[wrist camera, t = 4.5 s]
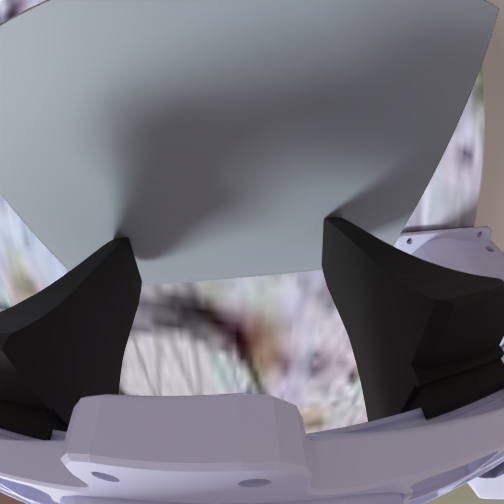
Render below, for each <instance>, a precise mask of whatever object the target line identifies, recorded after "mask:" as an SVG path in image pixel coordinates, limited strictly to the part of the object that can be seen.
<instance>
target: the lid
mask: <svg viewBox="0 0 504 504" xmlns="http://www.w3.org/2000/svg"><path fill="white" fill-rule="evenodd" d="M498 11H499V8H498V7H496V6H494V5H493V4H491V3H489V2H488V1H486V0H46V1H44V2H41V3H39V4H37V5H35V6H33V7H31V8H29V9H27V10H25V11H23V12H21V13H19V14H17V15H15V16H14V17H12V18H10V19H8V20H6V21H5V22H3V23H1V24H0V194H1V195H2V196H3V198H4V199H5V200H6V201H7V203H8V204H9V205H10V206H11V208H12V209H13V210H14V211H15V212H16V214H17V215H18V216H19V217H20V218H21V220H22V221H23V222H24V223H25V224H26V225H27V226H28V228H29V229H30V230H31V231H32V232H33V233H34V234H35V236H36V237H37V238H38V239H39V240H40V241H41V242H42V243H43V244H44V245H45V247H46V248H47V249H48V250H49V251H50V252H51V253H52V254H53V255H54V256H55V257H56V258H57V259H58V260H59V261H60V262H61V263H62V265H63V266H64V267H65V268H66V269H67V270H68V271H70V270H72V269H73V268H75V267H76V266H77V265H79V264H80V263H81V262H82V261H84V260H85V259H86V258H88V257H89V256H90V255H91V254H93V253H94V252H95V251H97V250H98V249H99V248H101V247H102V246H103V245H105V244H106V243H108V242H109V241H111V240H113V239H118V238H127V237H128V238H129V239H130V243H131V246H132V250H133V253H134V256H135V260H136V263H137V266H138V270H139V273H140V276H141V279H142V286H144V285H158V284H171V283H184V282H196V281H208V280H220V279H231V278H242V277H253V276H264V275H274V274H285V273H295V272H305V271H314V270H323V269H322V265H321V263H322V244H323V221H324V218H334V217H341V218H344V219H346V220H347V221H349V222H351V223H353V224H355V225H356V226H358V227H360V228H361V229H363V230H365V231H366V232H368V233H370V234H372V235H373V236H375V237H377V238H379V239H380V240H382V241H384V242H386V243H388V244H390V245H392V246H393V245H394V244H395V242H396V240H397V239H398V237H399V235H400V234H401V232H402V230H403V229H404V227H405V225H406V223H407V222H408V220H409V218H410V216H411V215H412V213H413V211H414V209H415V208H416V206H417V204H418V202H419V200H420V199H421V197H422V195H423V193H424V191H425V189H426V187H427V186H428V184H429V182H430V180H431V178H432V176H433V174H434V172H435V170H436V168H437V166H438V164H439V162H440V160H441V158H442V156H443V154H444V152H445V150H446V148H447V146H448V144H449V142H450V139H451V137H452V135H453V133H454V131H455V129H456V126H457V124H458V122H459V120H460V117H461V115H462V113H463V110H464V108H465V106H466V103H467V101H468V98H469V96H470V94H471V91H472V89H473V86H474V83H475V81H476V78H477V76H478V73H479V70H480V67H481V65H482V62H483V59H484V56H485V53H486V50H487V47H488V44H489V41H490V38H491V35H492V32H493V28H494V25H495V22H496V18H497V15H498Z"/></svg>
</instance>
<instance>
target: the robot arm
mask: <svg viewBox="0 0 504 504" xmlns="http://www.w3.org/2000/svg"><path fill="white" fill-rule="evenodd" d="M490 236H491V228H489V227H488V226H481V227H469V228H456V229H444V230H432V231H420V232H408V233H401V234H400V235H399V237H398V239H397V240H396V242H395V247H394V246H392V245H390V244H388V243H386V242H384V241H382V240H380V239H379V238H377V237H375V236H373V235H372V234H370V233H368V232H366V231H365V230H363V229H361V228H360V227H358V226H356V225H355V224H353V223H351V222H349V221H347V220H346V219H344V218H341V217H334V218H324V221H323V244H322V263H321V265H322V269H323V273H324V277H325V280H326V283H327V287H328V289H329V292H330V294H331V296H332V298H333V301H334V303H335V305H336V308H337V310H338V312H339V315H340V317H341V319H342V321H343V324H344V326H345V328H346V331H347V334H348V336H349V339H350V342H351V346H352V349H353V353H354V356H355V360H356V364H357V368H358V372H359V377H360V381H361V385H362V390H363V395H364V400H365V406H366V411H367V418H368V422H366V423H362V424H357V425H352V426H348V427H343V428H337V429H332V430H327V431H321V432H315V433H308V434H305V429H304V423H303V418H302V416H301V414H300V412H299V411H298V409H297V407H296V405H294V404H291V403H289V402H286V401H284V400H281V399H278V398H276V397H273V396H271V395H264V394H243V393H235V394H219V395H196V396H133V395H118V394H119V383H120V375H121V367H122V361H123V356H124V351H125V347H126V344H127V341H128V337H129V334H130V331H131V327H132V324H133V321H134V317H135V314H136V311H137V307H138V304H139V299H140V293H141V286H142V279H141V276H140V273H139V270H138V266H137V263H136V260H135V256H134V253H133V250H132V246H131V243H130V239H129V238H128V237H127V238H118V239H113V240H111V241H109V242H108V243H106V244H105V245H103V246H102V247H101V248H99V249H98V250H97V251H95V252H94V253H93V254H91V255H90V256H89V257H88V258H86V259H85V260H84V261H82V262H81V263H80V264H79V265H77V266H76V267H75V268H73V269H72V270H70V271H69V272H68V273H66V274H65V275H64V276H63V277H61V278H60V279H58V280H57V281H55V282H54V283H53V284H51V285H49V286H48V287H46V288H45V289H43V290H42V291H40V292H38V293H37V294H35V295H33V296H31V297H29V298H27V299H26V300H24V301H22V302H20V303H18V304H16V305H14V306H12V307H10V308H8V309H6V310H4V311H1V312H0V492H2V493H4V494H7V495H8V496H11V497H13V498H15V499H17V500H19V501H22V502H24V503H27V504H423V503H425V502H427V501H430V500H432V499H435V498H437V497H439V496H441V495H443V494H445V493H447V492H450V491H451V490H454V489H456V488H458V487H460V486H461V485H463V484H465V483H468V484H469V485H470V487H471V488H472V489H473V490H474V491H475V493H476V494H477V496H478V497H479V498H484V499H504V253H503V252H502V251H501V250H500V249H499V248H498V247H497V246H496V245H495V244H494V243H493V242H491V241H490V240H489V239H490ZM409 238H410V240H409V241H407V240H408V239H409Z"/></svg>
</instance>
